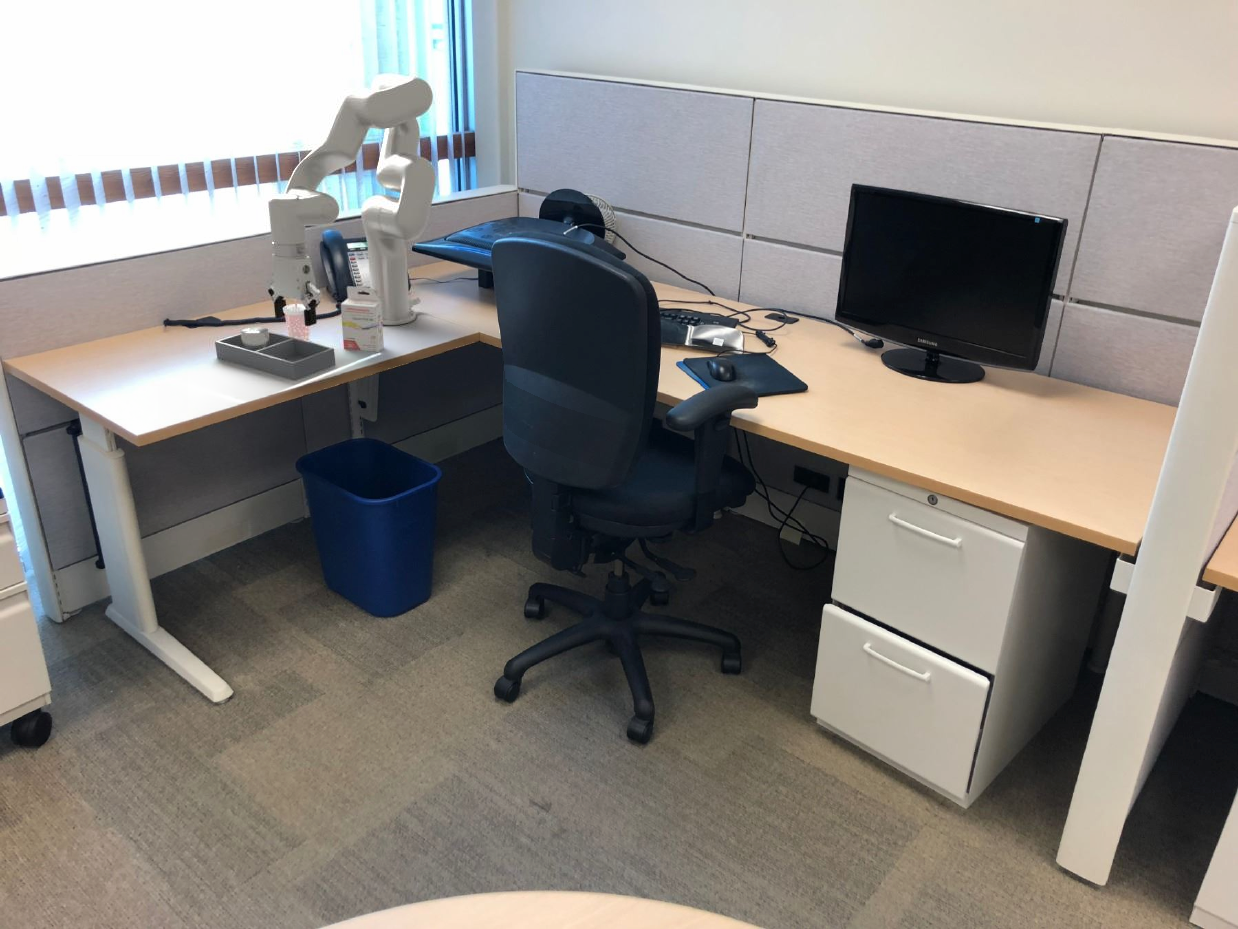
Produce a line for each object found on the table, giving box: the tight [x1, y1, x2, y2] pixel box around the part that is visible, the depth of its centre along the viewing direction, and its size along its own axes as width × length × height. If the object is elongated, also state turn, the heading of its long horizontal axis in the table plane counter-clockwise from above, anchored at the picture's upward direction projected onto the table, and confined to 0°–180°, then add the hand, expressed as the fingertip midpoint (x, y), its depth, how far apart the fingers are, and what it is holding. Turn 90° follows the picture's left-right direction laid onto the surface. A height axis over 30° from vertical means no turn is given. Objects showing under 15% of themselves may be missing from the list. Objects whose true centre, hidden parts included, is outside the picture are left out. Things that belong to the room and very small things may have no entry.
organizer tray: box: [214, 330, 336, 381], centre depth 227 cm, size 12×25×4 cm, turn 60°
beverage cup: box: [283, 299, 311, 342], centre depth 238 cm, size 6×6×14 cm
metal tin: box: [240, 326, 270, 351], centre depth 229 cm, size 6×6×6 cm
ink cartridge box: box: [340, 285, 385, 354], centre depth 236 cm, size 9×5×15 cm, turn 84°
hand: (296, 320), depth 238 cm, fingers open, 9 cm apart
